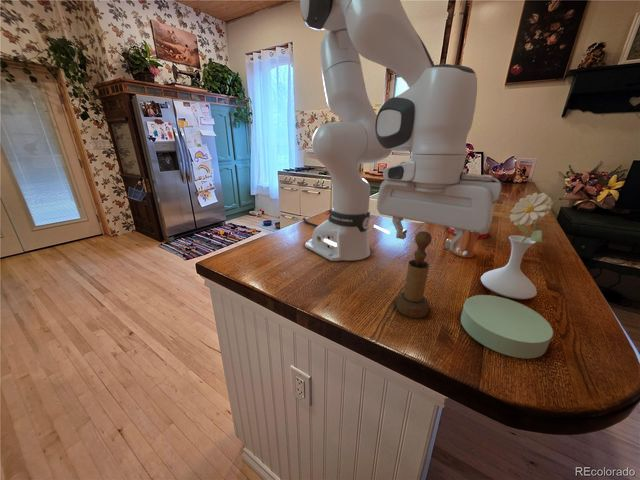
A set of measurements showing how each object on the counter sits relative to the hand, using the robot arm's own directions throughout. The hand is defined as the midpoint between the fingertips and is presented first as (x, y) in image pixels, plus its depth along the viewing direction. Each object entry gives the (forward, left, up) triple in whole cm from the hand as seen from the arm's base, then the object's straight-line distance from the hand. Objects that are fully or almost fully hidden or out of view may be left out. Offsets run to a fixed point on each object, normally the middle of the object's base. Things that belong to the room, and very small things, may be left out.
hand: (423, 243), depth 50 cm
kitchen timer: (-3, +64, -16) cm, 66 cm away
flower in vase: (+15, +22, -16) cm, 31 cm away
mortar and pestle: (0, 0, -16) cm, 16 cm away
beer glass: (+1, +40, -16) cm, 43 cm away
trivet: (+16, +5, -16) cm, 23 cm away
